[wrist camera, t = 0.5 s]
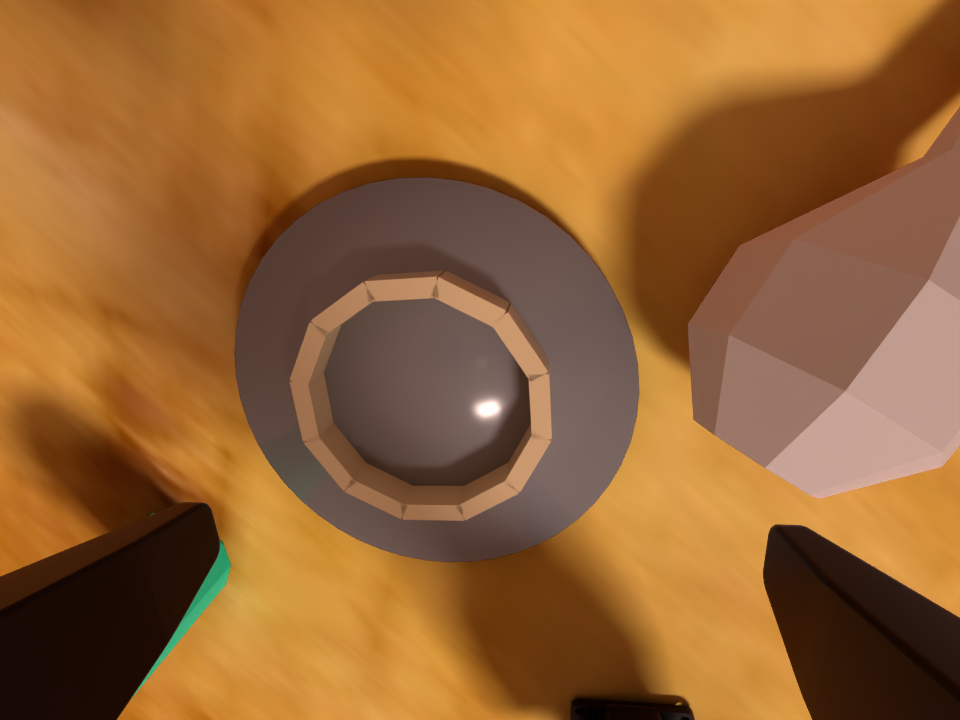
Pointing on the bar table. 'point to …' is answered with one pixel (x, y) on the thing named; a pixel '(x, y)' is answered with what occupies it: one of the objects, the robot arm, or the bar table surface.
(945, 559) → the bar table surface
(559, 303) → the candle holder
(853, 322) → the chicken leg
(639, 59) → the bar table surface
